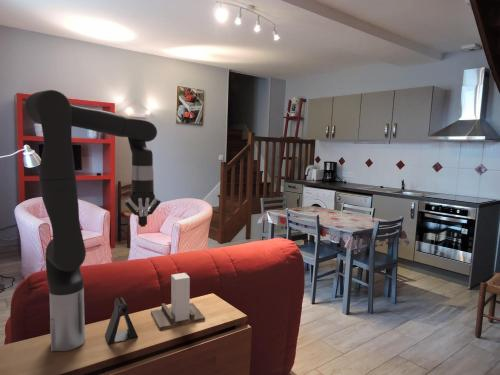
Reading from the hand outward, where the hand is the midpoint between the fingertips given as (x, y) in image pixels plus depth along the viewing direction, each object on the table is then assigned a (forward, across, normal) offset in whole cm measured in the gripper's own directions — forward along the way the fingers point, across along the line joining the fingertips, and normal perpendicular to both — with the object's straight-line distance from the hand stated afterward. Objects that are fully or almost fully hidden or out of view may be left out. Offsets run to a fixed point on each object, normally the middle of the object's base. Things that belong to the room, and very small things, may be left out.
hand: (142, 226), depth 127 cm
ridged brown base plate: (+32, +10, -10) cm, 35 cm away
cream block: (+31, +10, -13) cm, 35 cm away
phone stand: (+32, -10, -15) cm, 37 cm away
